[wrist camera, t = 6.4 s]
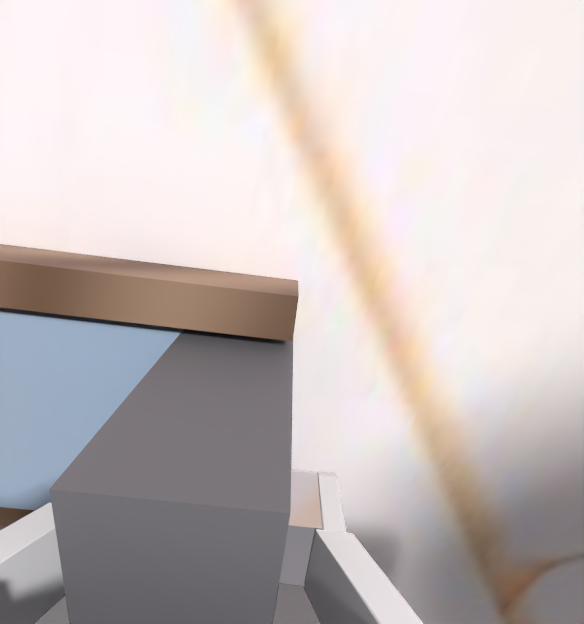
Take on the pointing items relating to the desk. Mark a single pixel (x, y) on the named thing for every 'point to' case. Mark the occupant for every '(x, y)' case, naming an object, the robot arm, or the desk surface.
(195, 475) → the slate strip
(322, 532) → the robot arm
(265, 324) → the guide rails
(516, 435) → the desk surface
